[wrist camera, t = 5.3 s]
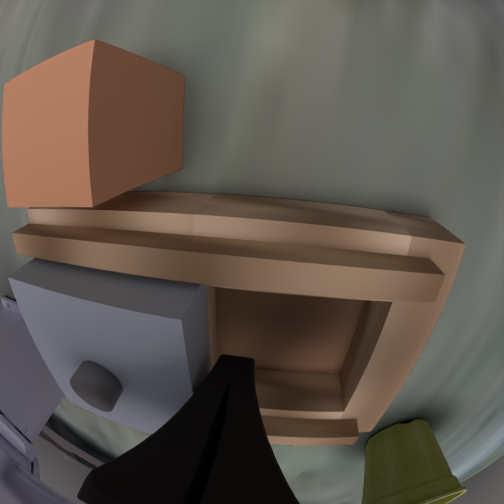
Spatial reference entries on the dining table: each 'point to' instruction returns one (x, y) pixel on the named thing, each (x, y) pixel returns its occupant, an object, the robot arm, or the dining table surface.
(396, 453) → the plant pot
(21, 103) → the terracotta block
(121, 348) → the slate cover
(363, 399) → the puzzle board
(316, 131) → the dining table surface
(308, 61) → the dining table surface
